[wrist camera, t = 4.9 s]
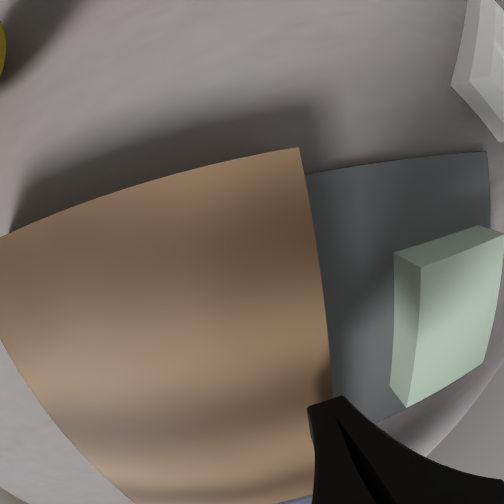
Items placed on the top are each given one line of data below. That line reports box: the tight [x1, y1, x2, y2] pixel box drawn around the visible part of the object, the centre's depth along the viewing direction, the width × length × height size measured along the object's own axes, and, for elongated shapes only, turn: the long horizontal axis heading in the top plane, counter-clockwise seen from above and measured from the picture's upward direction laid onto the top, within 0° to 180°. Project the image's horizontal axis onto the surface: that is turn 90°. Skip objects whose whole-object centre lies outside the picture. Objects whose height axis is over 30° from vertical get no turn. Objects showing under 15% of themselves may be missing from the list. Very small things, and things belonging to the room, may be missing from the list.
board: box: [0, 147, 333, 504], centre depth 11 cm, size 18×12×3 cm, turn 12°
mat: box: [304, 151, 490, 423], centre depth 13 cm, size 15×11×1 cm
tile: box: [390, 225, 504, 408], centre depth 12 cm, size 8×6×2 cm
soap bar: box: [450, 0, 504, 142], centre depth 9 cm, size 5×9×3 cm, turn 154°
